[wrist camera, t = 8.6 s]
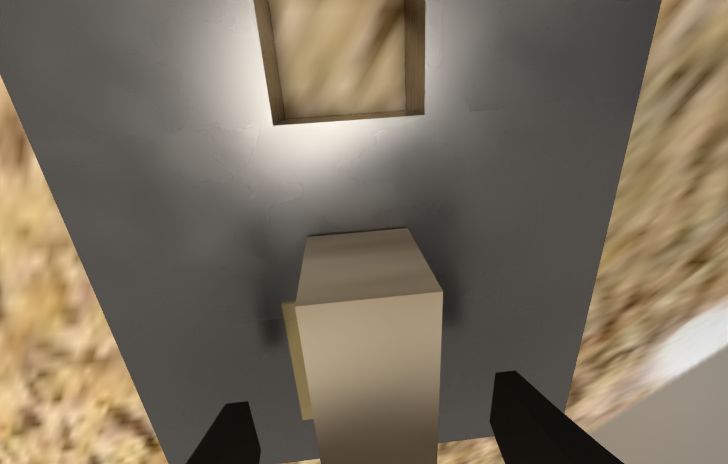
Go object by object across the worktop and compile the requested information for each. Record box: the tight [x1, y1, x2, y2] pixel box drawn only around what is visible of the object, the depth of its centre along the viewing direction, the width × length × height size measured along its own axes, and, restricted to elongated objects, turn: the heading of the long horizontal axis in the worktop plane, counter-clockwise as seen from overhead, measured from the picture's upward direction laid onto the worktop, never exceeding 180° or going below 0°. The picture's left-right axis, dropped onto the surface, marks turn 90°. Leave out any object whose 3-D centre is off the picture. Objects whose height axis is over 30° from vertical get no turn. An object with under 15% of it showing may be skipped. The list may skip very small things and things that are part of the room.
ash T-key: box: [295, 228, 443, 464], centre depth 11 cm, size 10×3×6 cm, turn 3°
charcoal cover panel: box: [0, 0, 661, 464], centre depth 11 cm, size 16×20×3 cm
